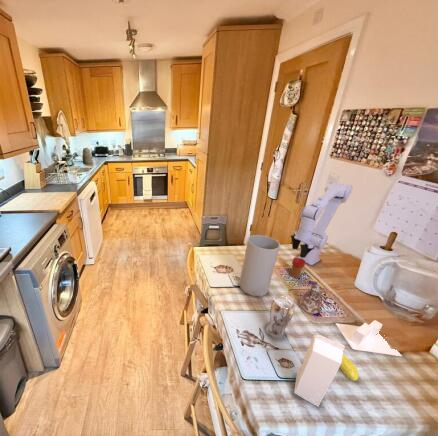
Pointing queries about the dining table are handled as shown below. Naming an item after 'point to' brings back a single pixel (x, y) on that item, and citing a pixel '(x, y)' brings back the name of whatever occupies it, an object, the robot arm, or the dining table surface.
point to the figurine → (312, 299)
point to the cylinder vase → (258, 264)
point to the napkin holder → (366, 338)
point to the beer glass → (280, 316)
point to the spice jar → (295, 272)
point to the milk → (318, 369)
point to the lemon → (349, 368)
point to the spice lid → (298, 262)
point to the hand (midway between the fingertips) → (298, 252)
